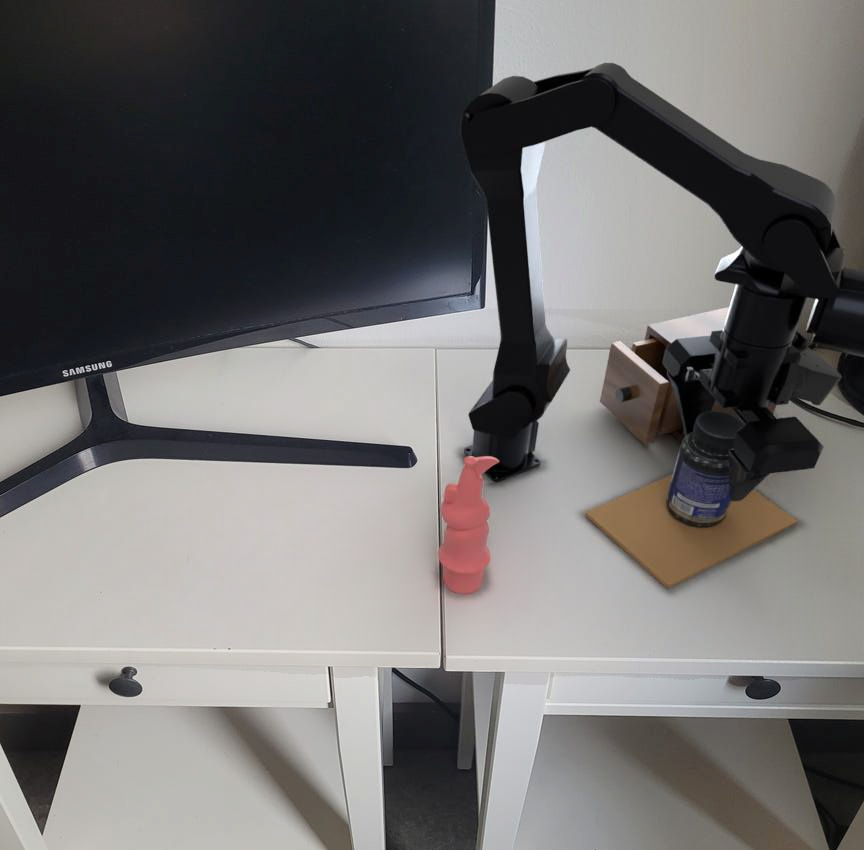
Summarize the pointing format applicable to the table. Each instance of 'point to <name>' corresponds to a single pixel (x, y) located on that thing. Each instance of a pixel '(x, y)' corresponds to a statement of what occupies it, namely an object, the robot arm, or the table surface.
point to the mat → (684, 531)
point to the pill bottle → (704, 471)
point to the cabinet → (692, 328)
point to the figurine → (466, 528)
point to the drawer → (640, 390)
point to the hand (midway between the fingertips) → (713, 469)
